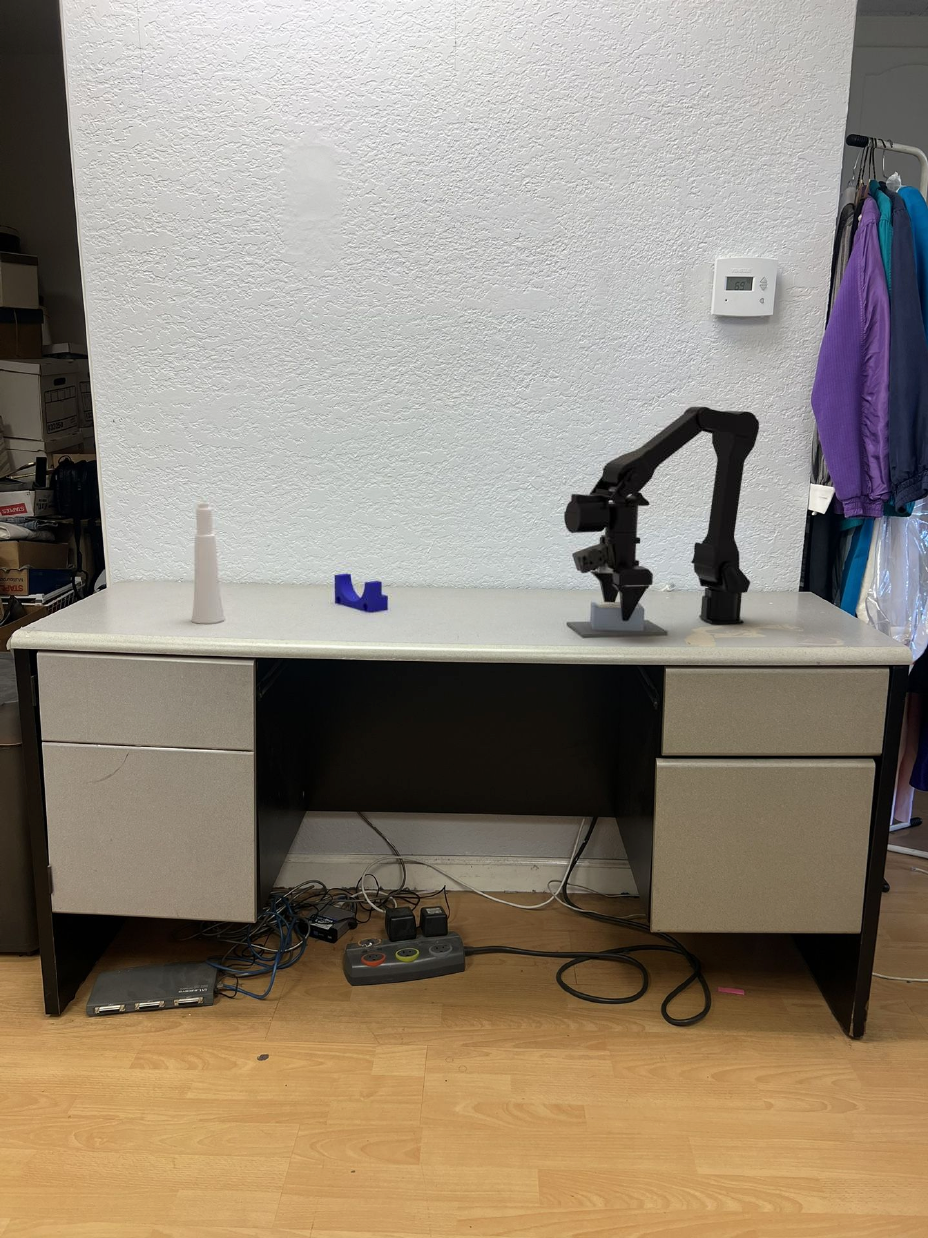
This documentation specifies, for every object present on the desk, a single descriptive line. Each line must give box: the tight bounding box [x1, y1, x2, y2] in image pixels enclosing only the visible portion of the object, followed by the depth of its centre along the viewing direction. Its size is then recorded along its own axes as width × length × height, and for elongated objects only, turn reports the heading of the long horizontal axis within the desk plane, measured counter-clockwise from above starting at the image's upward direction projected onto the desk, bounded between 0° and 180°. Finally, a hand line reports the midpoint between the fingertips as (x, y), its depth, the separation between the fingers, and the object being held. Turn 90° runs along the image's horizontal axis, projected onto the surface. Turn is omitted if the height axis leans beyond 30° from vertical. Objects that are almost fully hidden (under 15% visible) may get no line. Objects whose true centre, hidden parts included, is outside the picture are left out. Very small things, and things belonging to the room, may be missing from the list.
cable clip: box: [334, 572, 389, 614], centre depth 201 cm, size 12×4×6 cm, turn 41°
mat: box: [566, 619, 669, 638], centre depth 184 cm, size 16×10×1 cm, turn 101°
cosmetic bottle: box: [191, 501, 226, 625], centre depth 184 cm, size 6×6×22 cm
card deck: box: [589, 601, 645, 631], centre depth 183 cm, size 6×9×4 cm, turn 89°
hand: (616, 615), depth 183 cm, fingers open, 9 cm apart
